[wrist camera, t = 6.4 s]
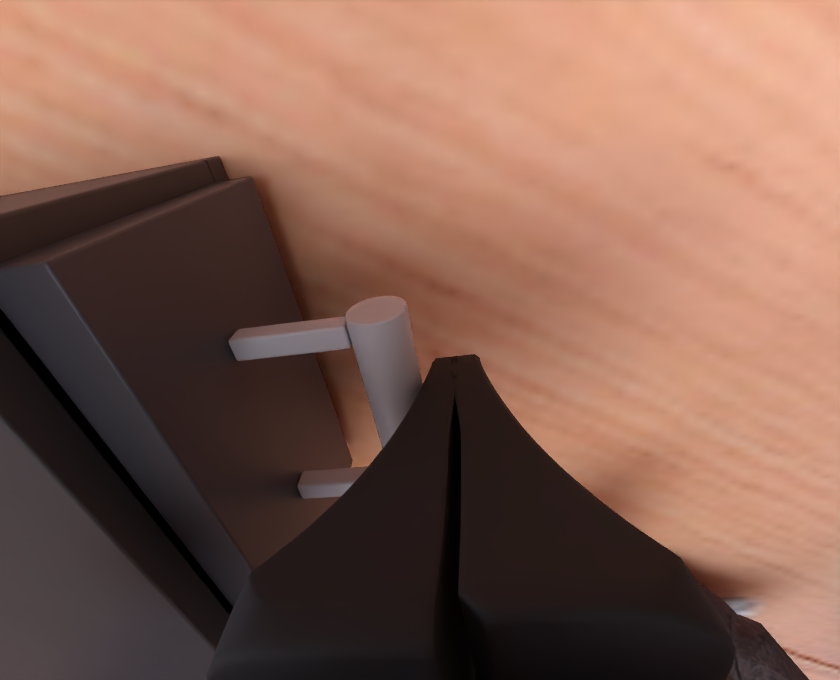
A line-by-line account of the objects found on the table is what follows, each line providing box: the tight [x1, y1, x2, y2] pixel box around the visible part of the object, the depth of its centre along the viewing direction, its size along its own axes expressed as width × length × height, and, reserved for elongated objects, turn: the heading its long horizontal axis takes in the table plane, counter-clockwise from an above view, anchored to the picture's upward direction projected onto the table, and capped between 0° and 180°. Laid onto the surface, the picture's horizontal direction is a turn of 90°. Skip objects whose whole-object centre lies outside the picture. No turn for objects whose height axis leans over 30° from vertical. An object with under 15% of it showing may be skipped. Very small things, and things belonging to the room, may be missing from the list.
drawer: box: [0, 177, 423, 607], centre depth 12 cm, size 17×11×7 cm
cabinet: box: [0, 157, 233, 680], centre depth 12 cm, size 14×13×9 cm
